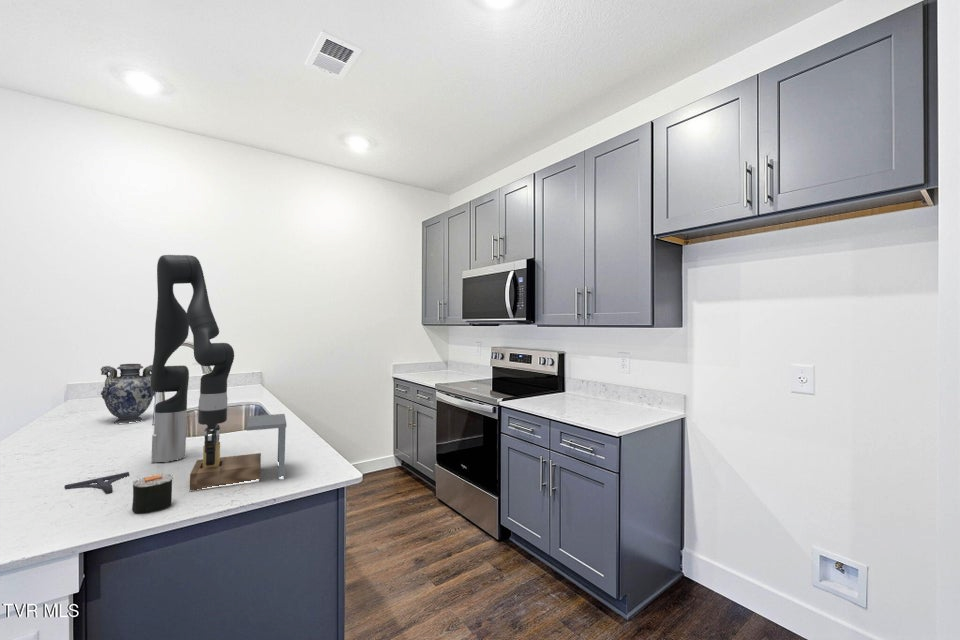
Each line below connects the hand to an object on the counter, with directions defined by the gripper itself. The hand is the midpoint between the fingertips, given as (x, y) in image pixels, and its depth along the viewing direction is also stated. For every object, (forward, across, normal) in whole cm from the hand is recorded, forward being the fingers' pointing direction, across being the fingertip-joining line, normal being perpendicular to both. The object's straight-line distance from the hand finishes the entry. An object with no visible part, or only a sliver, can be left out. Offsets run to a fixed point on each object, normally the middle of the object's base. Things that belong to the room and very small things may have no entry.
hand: (211, 462), depth 128 cm
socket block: (+6, 0, -4) cm, 7 cm away
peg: (+4, 0, 0) cm, 4 cm away
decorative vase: (+6, +105, +44) cm, 114 cm away
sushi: (+6, -15, +12) cm, 20 cm away
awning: (+6, 0, -14) cm, 16 cm away
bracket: (+7, +7, +28) cm, 29 cm away
